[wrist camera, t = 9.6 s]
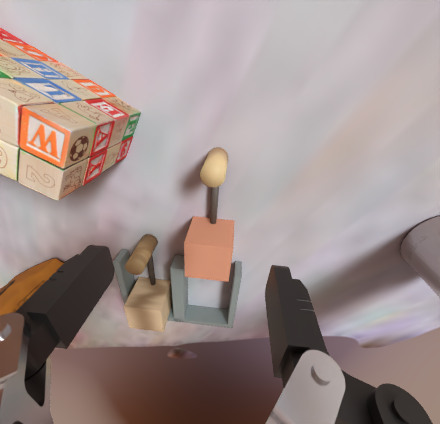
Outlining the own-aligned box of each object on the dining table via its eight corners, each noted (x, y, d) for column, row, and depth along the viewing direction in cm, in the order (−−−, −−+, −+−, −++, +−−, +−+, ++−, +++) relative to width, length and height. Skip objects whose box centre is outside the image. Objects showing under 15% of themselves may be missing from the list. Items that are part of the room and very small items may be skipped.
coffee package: (13, 265, 40) (-187, 426, 21) (60, 249, 37) (-127, 422, 18) (52, 298, 45) (-85, 455, 26) (97, 286, 41) (-21, 456, 22)
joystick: (243, 149, 25) (244, 166, 20) (230, 251, 34) (228, 281, 29) (194, 145, 26) (182, 160, 20) (193, 247, 34) (184, 276, 29)
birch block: (167, 236, 33) (154, 264, 28) (172, 301, 42) (163, 331, 37) (130, 232, 33) (110, 259, 28) (143, 297, 42) (129, 327, 37)
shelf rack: (241, 261, 35) (241, 276, 32) (232, 313, 42) (232, 328, 39) (122, 249, 35) (112, 261, 33) (134, 301, 43) (127, 315, 40)
